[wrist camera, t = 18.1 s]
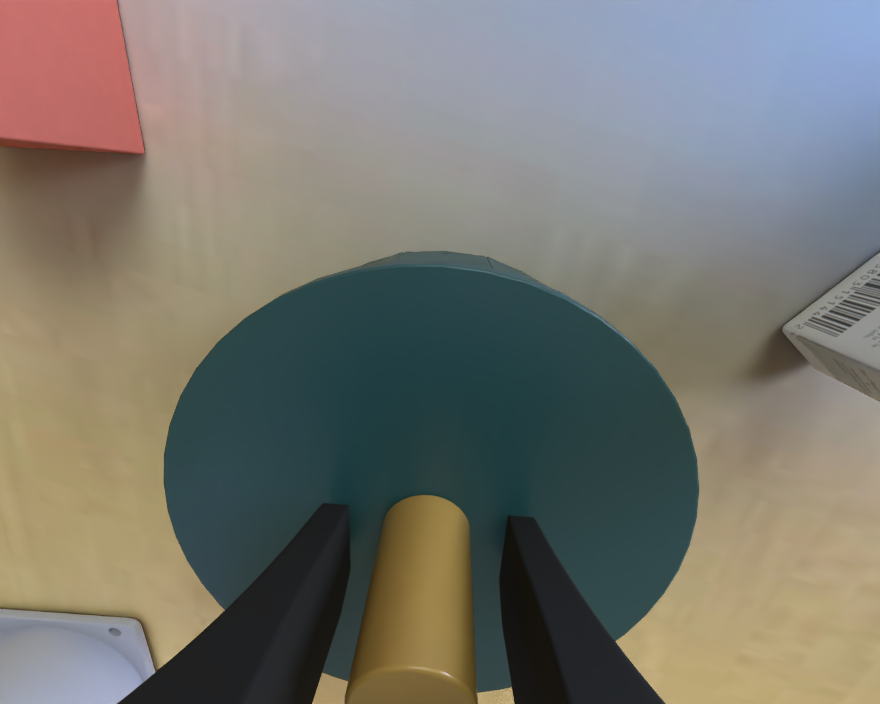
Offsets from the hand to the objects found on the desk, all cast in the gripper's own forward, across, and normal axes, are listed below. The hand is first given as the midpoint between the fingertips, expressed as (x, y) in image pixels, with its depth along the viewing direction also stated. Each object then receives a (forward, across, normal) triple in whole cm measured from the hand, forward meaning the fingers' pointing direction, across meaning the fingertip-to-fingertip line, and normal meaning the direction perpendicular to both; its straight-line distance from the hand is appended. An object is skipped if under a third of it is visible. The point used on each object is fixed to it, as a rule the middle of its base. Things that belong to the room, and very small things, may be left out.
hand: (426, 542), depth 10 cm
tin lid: (+1, 0, 0) cm, 1 cm away
